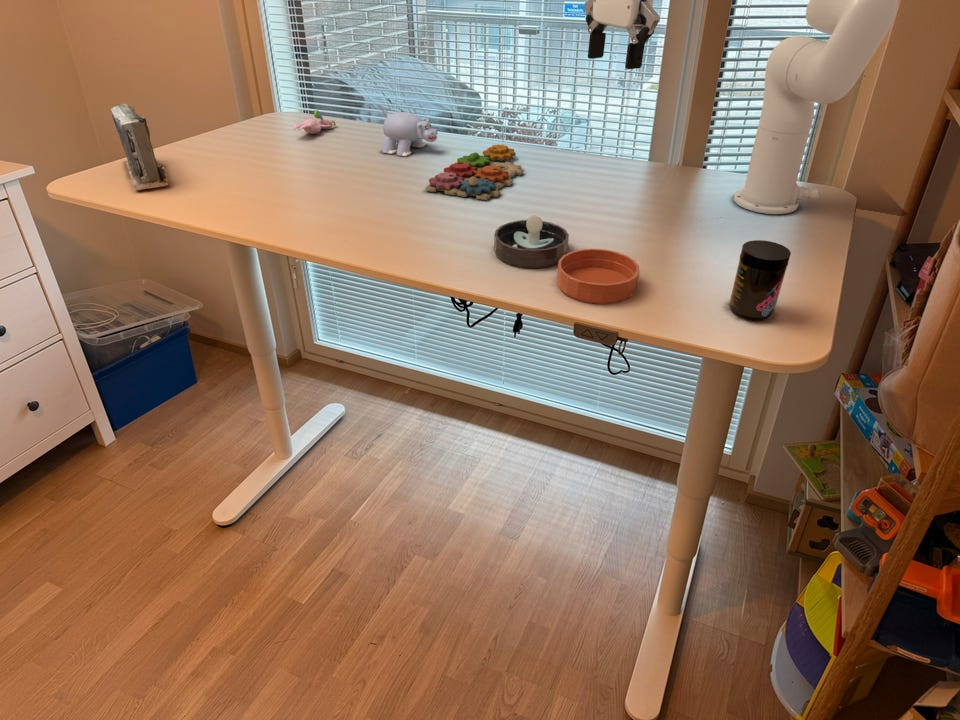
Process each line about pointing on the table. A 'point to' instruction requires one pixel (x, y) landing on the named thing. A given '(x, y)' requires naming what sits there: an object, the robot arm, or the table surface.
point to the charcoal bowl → (530, 256)
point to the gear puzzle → (477, 174)
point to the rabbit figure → (314, 124)
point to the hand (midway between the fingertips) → (613, 63)
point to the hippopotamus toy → (405, 132)
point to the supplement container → (758, 279)
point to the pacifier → (532, 235)
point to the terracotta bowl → (597, 276)
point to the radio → (138, 148)
